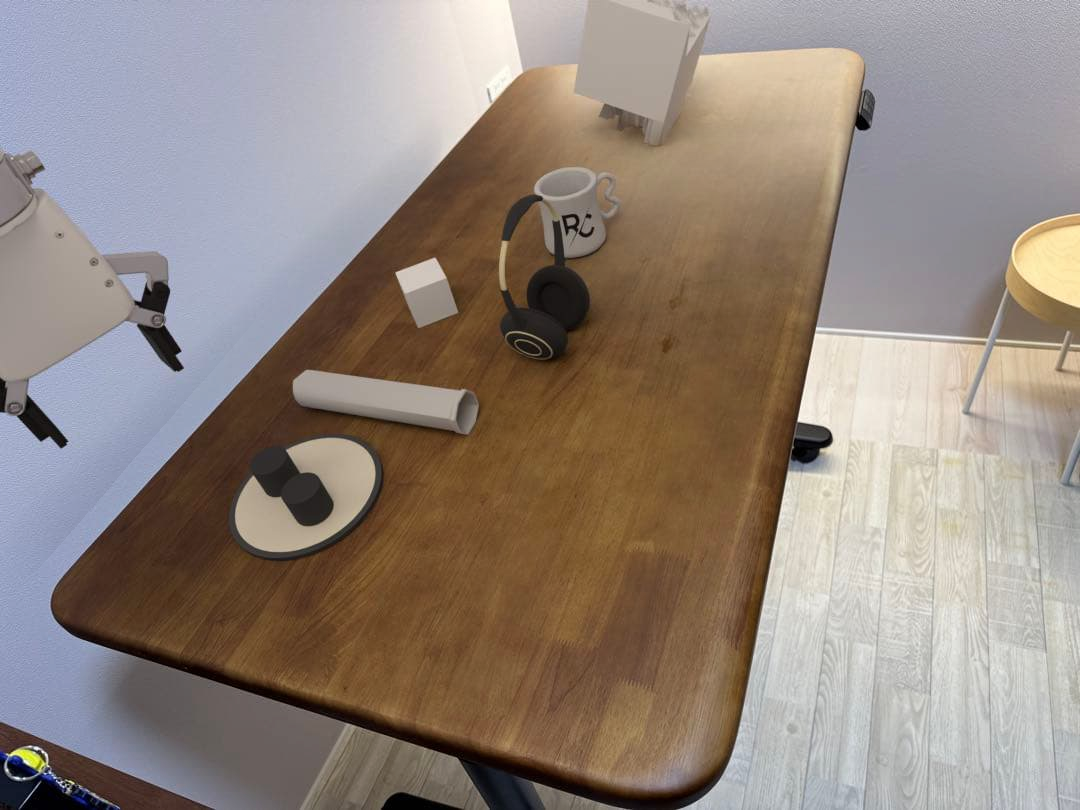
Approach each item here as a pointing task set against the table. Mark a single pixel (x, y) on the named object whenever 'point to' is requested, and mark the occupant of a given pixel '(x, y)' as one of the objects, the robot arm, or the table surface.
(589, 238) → the mug
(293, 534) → the face circle
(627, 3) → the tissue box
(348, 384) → the tube
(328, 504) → the eye dot
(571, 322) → the headphones
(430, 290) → the white cube
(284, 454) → the eye dot
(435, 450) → the table surface
